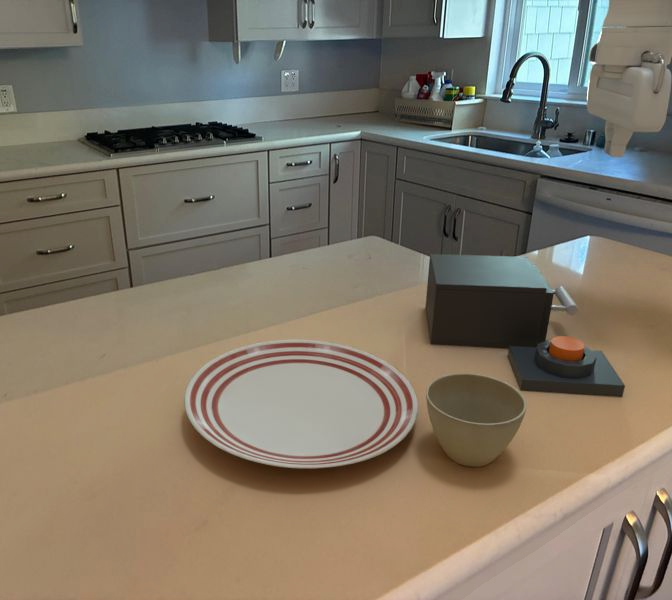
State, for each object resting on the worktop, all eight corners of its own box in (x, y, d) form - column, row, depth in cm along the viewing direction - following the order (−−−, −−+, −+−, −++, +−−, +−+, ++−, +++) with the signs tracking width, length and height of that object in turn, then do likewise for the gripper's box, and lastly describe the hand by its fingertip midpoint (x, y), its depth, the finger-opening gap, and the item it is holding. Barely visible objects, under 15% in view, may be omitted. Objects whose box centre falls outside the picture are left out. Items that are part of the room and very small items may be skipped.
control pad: (599, 361, 84) (604, 338, 83) (622, 397, 76) (628, 372, 74) (507, 356, 86) (510, 334, 84) (520, 390, 78) (524, 366, 76)
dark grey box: (518, 313, 99) (527, 256, 95) (536, 350, 87) (546, 288, 83) (425, 308, 101) (430, 253, 97) (430, 344, 89) (436, 283, 86)
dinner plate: (375, 349, 89) (376, 328, 87) (456, 473, 64) (459, 447, 62) (183, 367, 85) (181, 346, 84) (190, 506, 60) (187, 479, 59)
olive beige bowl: (525, 440, 68) (534, 385, 66) (506, 495, 61) (516, 435, 58) (436, 416, 73) (441, 363, 70) (408, 463, 65) (413, 407, 62)
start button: (577, 348, 81) (579, 336, 80) (586, 363, 77) (588, 351, 77) (545, 346, 82) (547, 335, 81) (552, 361, 78) (555, 349, 77)
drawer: (556, 311, 97) (565, 264, 94) (577, 345, 86) (587, 294, 83) (440, 306, 100) (444, 260, 96) (447, 338, 89) (452, 288, 86)
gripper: (696, 53, 72) (668, 171, 78) (632, 47, 90) (613, 143, 96) (637, 54, 73) (614, 170, 79) (586, 48, 91) (570, 143, 97)
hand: (613, 155), depth 87 cm, fingers closed
